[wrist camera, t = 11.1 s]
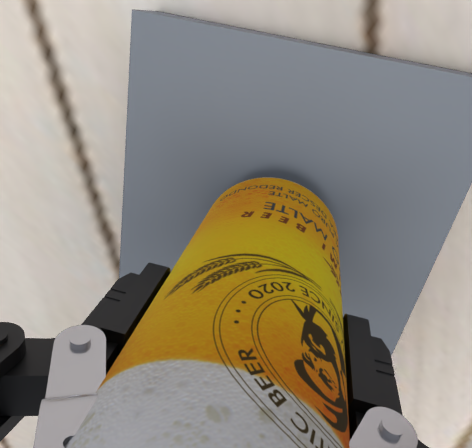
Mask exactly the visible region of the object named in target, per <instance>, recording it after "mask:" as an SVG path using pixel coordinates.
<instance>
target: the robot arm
mask: <svg viewBox="0 0 472 448" xmlns="http://www.w3.org/2000/svg"><path fill="white" fill-rule="evenodd" d="M169 274H170V268H169V267H166V266H162V265H158V264H154V263H150V262H149V263H148V264H147V265H146V267H145V268H144V269H143V271H142V272H141V273H140V275H139V274H135V273H129V274H127V275H125V276H123V277H121V278H120V279H118V280H117V281H116V283H115V284H114V285H113V286H112V288H111V290H109V291H108V293H107V294H106V295H105V297H104V298H103V299H102V300H101V301H100V302H99V304H98V305H97V306H96V307H95V309H94V310H93V311H92V312H91V313H90V315H89V316H88V317H87V318H86V320H85V321H84V322H83V323H82V325H77V326H72V327H69V328H67V329H65V330H63V331H62V332H61V333H60V334H58V336H57V337H56V338H51V339H38V338H25V335H24V331H23V329H22V328H21V327H20V326H18V325H16V324H13V323H9V322H0V441H1V440H2V439H3V438H4V437H5V436H6V435H7V434H8V433H9V432H10V431H11V430H12V429H13V428H14V427H15V426H16V425H17V423H18V422H19V421H20V420H21V419H22V418H23V417H24V416H38V422H37V428H36V434H35V440H34V447H33V448H65V445H66V444H67V443H68V441H69V440H70V439H71V438H72V437H74V436H75V434H76V432H77V431H78V429H79V427H80V426H81V424H82V423H83V421H84V419H85V418H86V416H87V414H88V413H89V411H90V409H91V408H92V406H93V405H94V403H95V401H96V399H97V397H98V394H95V393H96V391H97V390H98V388H99V387H100V385H101V383H102V382H103V380H104V379H105V377H106V375H107V373H108V371H109V370H110V368H111V367H112V365H113V363H114V362H115V360H116V359H117V357H118V355H119V354H120V352H121V351H122V349H123V347H124V346H125V344H126V343H127V341H128V339H129V338H130V336H131V335H132V333H133V331H134V330H135V328H136V327H137V325H138V323H139V322H140V320H141V319H142V317H143V315H144V314H145V312H146V311H147V309H148V308H149V306H150V304H151V303H152V301H153V300H154V298H155V296H156V295H157V293H158V292H159V290H160V288H161V287H162V285H163V284H164V282H165V280H166V279H167V277H168V276H169ZM343 329H344V346H345V363H346V380H347V398H348V415H349V432H350V442H349V446H350V448H429V447H427V446H426V445H424V444H423V443H422V442H420V441H419V440H418V438H417V434H416V431H415V430H414V428H413V426H412V425H411V423H410V422H409V421H408V420H407V419H406V418H405V417H404V416H403V415H402V410H401V405H400V400H399V395H398V390H397V385H396V380H395V377H394V369H393V367H392V359H391V354H390V351H389V349H388V348H387V346H386V345H385V343H384V342H383V340H382V339H381V338H377V337H373V336H371V332H370V325H369V320H368V319H365V318H361V317H357V316H353V315H349V314H345V315H344V317H343Z"/></svg>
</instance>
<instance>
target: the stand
mask: <svg viewBox="0 0 472 448" xmlns="http://www.w3.org/2000/svg"><path fill="white" fill-rule="evenodd" d="M262 177H273V178H281V179H285V180H289V181H292V182H295V183H297V184H299V185H301V186H303V187H305V188H307V189H308V190H310V191H311V192H313V193H314V194H315V195H316V196H318V197H319V198H320V199H321V200H322V201H323V203H324V204H325V205H326V206H327V208H328V209H329V211H330V213H331V214H332V216H333V219H334V221H335V224H336V227H337V232H338V243H339V260H340V277H341V294H342V312H343V317H344V315H345V314H349V315H353V316H357V317H361V318H365V319H368V320H369V325H370V332H371V336H373V337H377V338H381V339H382V340H383V342H384V343H385V345H386V346H387V348H388V349H389V351H390V354H391V355H392V353H393V351H394V349H395V346H396V344H397V342H398V340H399V338H400V336H401V333H402V331H403V329H404V327H405V325H406V323H407V321H408V318H409V316H410V314H411V312H412V310H413V308H414V306H415V303H416V301H417V299H418V297H419V295H420V293H421V291H422V288H423V286H424V284H425V282H426V280H427V278H428V276H429V273H430V271H431V269H432V267H433V265H434V263H435V261H436V258H437V256H438V254H439V252H440V250H441V248H442V246H443V243H444V241H445V239H446V237H447V235H448V233H449V231H450V228H451V226H452V224H453V222H454V220H455V218H456V215H457V213H458V211H459V209H460V207H461V205H462V203H463V200H464V198H465V196H466V194H467V192H468V190H469V188H470V185H471V183H472V73H467V72H462V71H457V70H452V69H447V68H442V67H437V66H432V65H427V64H422V63H416V62H411V61H406V60H401V59H396V58H391V57H386V56H381V55H376V54H371V53H366V52H361V51H356V50H351V49H346V48H341V47H336V46H331V45H325V44H320V43H315V42H310V41H305V40H300V39H295V38H290V37H285V36H280V35H275V34H270V33H265V32H260V31H255V30H250V29H245V28H239V27H234V26H229V25H224V24H219V23H214V22H209V21H204V20H199V19H194V18H189V17H184V16H179V15H174V14H169V13H164V12H159V11H146V10H132V23H131V43H130V64H129V85H128V106H127V126H126V147H125V168H124V188H123V209H122V230H121V250H120V271H119V279H120V278H121V277H123V276H125V275H127V274H129V273H135V274H139V275H140V273H141V272H142V271H143V269H144V268H145V267H146V265H147V264H148V263H149V262H150V263H154V264H158V265H162V266H166V267H169V268H170V272H171V271H172V269H173V268H174V266H175V264H176V263H177V261H178V260H179V258H180V256H181V255H182V253H183V252H184V250H185V248H186V247H187V245H188V244H189V242H190V240H191V239H192V237H193V236H194V234H195V233H196V231H197V229H198V228H199V226H200V225H201V223H202V221H203V220H204V218H205V217H206V215H207V213H208V212H209V210H210V209H211V207H212V205H213V204H214V203H215V201H216V200H217V199H218V198H219V197H220V195H221V194H223V193H224V192H225V191H226V190H228V189H229V188H231V187H232V186H234V185H236V184H238V183H240V182H243V181H246V180H249V179H254V178H262Z"/></svg>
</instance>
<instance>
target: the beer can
mask: <svg viewBox="0 0 472 448" xmlns="http://www.w3.org/2000/svg"><path fill="white" fill-rule="evenodd" d="M95 394H98V397H97V399H96V401H95V403H94V405H93V406H92V408H91V409H90V411H89V413H88V414H87V416H86V418H85V419H84V421H83V423H82V424H81V426H80V427H79V429H78V431H77V432H76V434H75V436H74V437H72V438H71V439H70V440H69V441H68V443H67V444H66V445H65V448H350V446H349V442H350V432H349V415H348V398H347V380H346V363H345V346H344V329H343V312H342V294H341V277H340V260H339V243H338V232H337V227H336V224H335V221H334V219H333V216H332V214H331V213H330V211H329V209H328V208H327V206H326V205H325V204H324V203H323V201H322V200H321V199H320V198H319V197H318V196H316V195H315V194H314V193H313V192H311V191H310V190H308V189H307V188H305V187H303V186H301V185H299V184H297V183H295V182H292V181H289V180H285V179H281V178H273V177H262V178H254V179H249V180H246V181H243V182H240V183H238V184H236V185H234V186H232V187H231V188H229V189H228V190H226V191H225V192H224V193H223V194H221V195H220V197H219V198H218V199H217V200H216V201H215V203H214V204H213V205H212V207H211V209H210V210H209V212H208V213H207V215H206V217H205V218H204V220H203V221H202V223H201V225H200V226H199V228H198V229H197V231H196V233H195V234H194V236H193V237H192V239H191V240H190V242H189V244H188V245H187V247H186V248H185V250H184V252H183V253H182V255H181V256H180V258H179V260H178V261H177V263H176V264H175V266H174V268H173V269H172V271H171V272H170V274H169V276H168V277H167V279H166V280H165V282H164V284H163V285H162V287H161V288H160V290H159V292H158V293H157V295H156V296H155V298H154V300H153V301H152V303H151V304H150V306H149V308H148V309H147V311H146V312H145V314H144V315H143V317H142V319H141V320H140V322H139V323H138V325H137V327H136V328H135V330H134V331H133V333H132V335H131V336H130V338H129V339H128V341H127V343H126V344H125V346H124V347H123V349H122V351H121V352H120V354H119V355H118V357H117V359H116V360H115V362H114V363H113V365H112V367H111V368H110V370H109V371H108V373H107V375H106V377H105V379H104V380H103V382H102V383H101V385H100V387H99V388H98V390H97V391H96V393H95Z"/></svg>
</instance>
